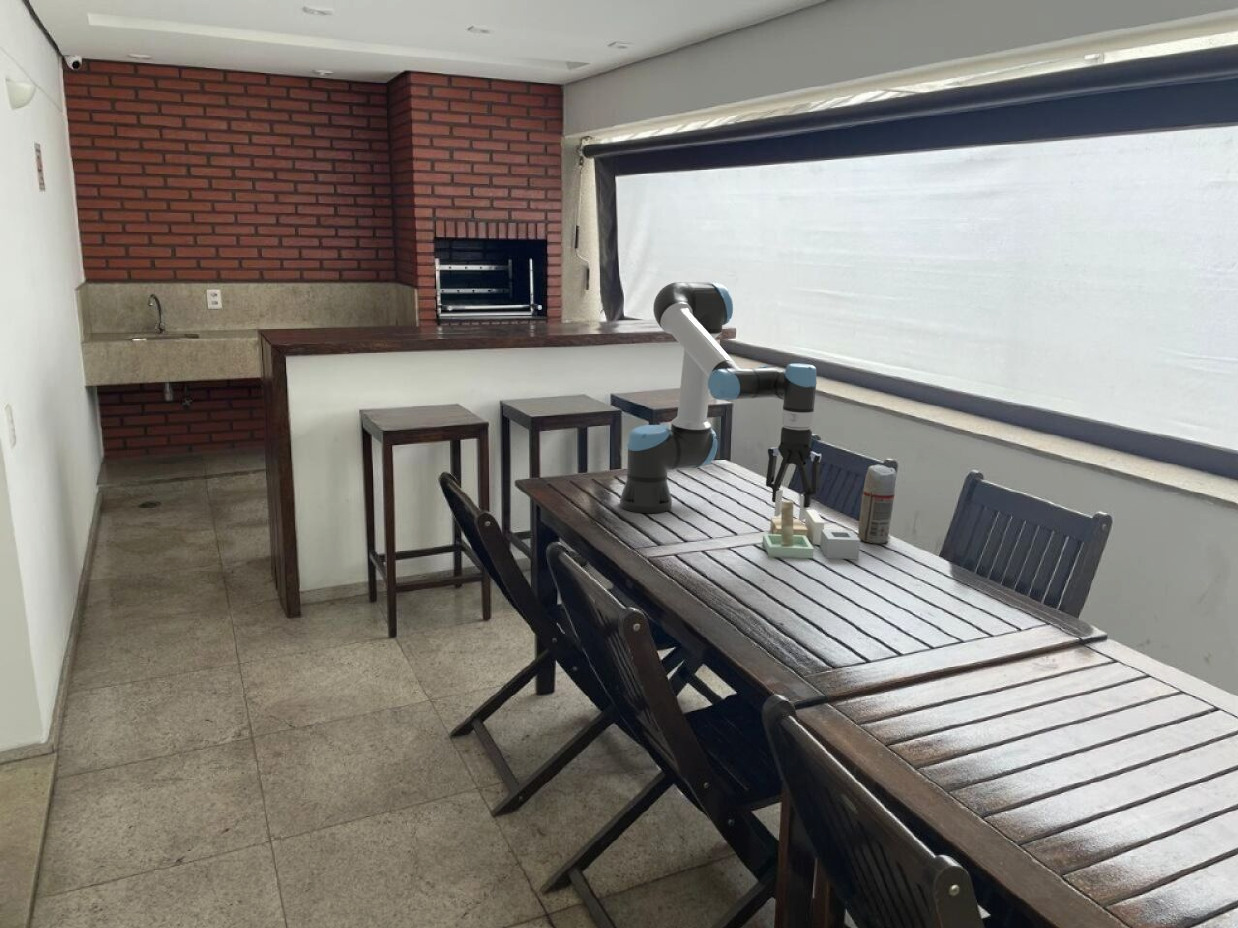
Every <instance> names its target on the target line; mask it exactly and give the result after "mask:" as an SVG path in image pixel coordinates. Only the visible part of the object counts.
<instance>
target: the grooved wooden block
mask: <svg viewBox="0 0 1238 928" xmlns="http://www.w3.org/2000/svg"><path fill="white" fill-rule="evenodd" d="M769 524H770V527H769V532H770V534H777V535H781V518H779V517H778V518H777V517H770V523H769ZM807 533H808V529H807V528H806V526H805V523H804V522H803V520H802V521H799V518H793V535H805V536H806V537H807V538H808V536H807Z"/></svg>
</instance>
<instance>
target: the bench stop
mask: <svg viewBox="0 0 1238 928" xmlns="http://www.w3.org/2000/svg"><path fill="white" fill-rule="evenodd" d="M804 525H805V526H806V528H807V529H808V533H807V538H808V540H809V542H810V543H811V545H818V546H820V543H821V531H822V530H825V521H824V520H823V519H822V517H821V515H819V512H817V510H816V509H806V517H805V519H804Z"/></svg>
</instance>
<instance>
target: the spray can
mask: <svg viewBox="0 0 1238 928" xmlns="http://www.w3.org/2000/svg"><path fill="white" fill-rule="evenodd" d="M897 476H898V475H897V472H896V470H895V469H894V468H893V467H887V466H886V465H883V464H879V463H878V464H874V465H870V466H869V467H868V469H867V471H866V475H865V479H864V485H863V490H862V496H861V503H860V512H859V519H858V533H857V537H858V538H859V539H860V541H862V542H865V543H871V544H885V543H887V542H888V541H887V540H888V538H889V533H890V526H891V520H892V513H893V507H894V501H895V495H896V494H895V492H896V481H897Z"/></svg>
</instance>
